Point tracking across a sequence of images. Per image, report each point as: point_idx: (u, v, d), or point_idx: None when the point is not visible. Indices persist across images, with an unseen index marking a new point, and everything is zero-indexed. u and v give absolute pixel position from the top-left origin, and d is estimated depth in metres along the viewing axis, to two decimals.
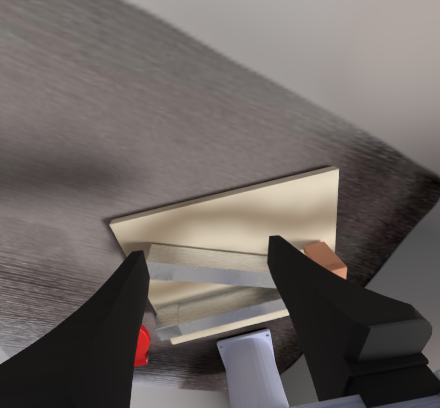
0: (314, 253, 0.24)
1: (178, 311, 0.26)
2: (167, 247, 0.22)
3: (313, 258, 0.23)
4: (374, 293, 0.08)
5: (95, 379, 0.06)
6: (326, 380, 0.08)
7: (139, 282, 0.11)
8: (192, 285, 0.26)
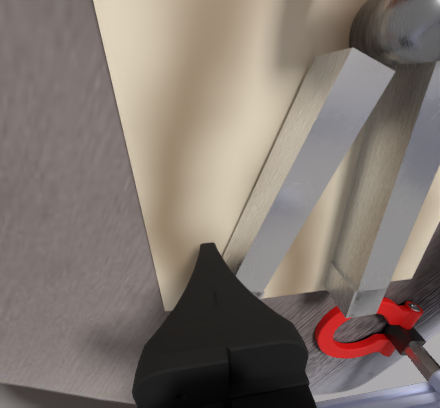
0: None
1: (341, 272, 0.15)
2: None
3: None
4: (266, 308, 0.07)
5: None
6: None
7: None
8: (305, 238, 0.15)
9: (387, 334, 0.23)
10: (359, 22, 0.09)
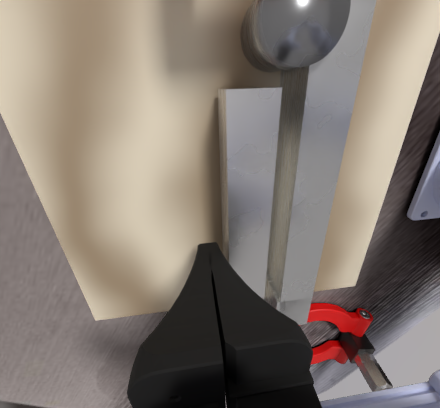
0: None
1: (271, 281, 0.15)
2: None
3: None
4: (270, 308, 0.07)
5: None
6: (227, 398, 0.08)
7: None
8: None
9: (340, 341, 0.22)
10: (243, 24, 0.09)
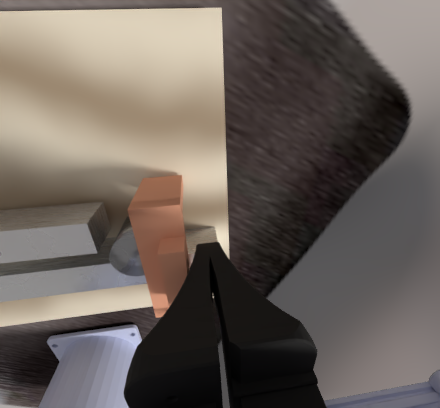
0: (148, 186, 0.13)
1: None
2: None
3: (138, 191, 0.12)
4: (274, 307, 0.07)
5: None
6: (230, 397, 0.08)
7: (210, 273, 0.11)
8: None
9: None
10: None
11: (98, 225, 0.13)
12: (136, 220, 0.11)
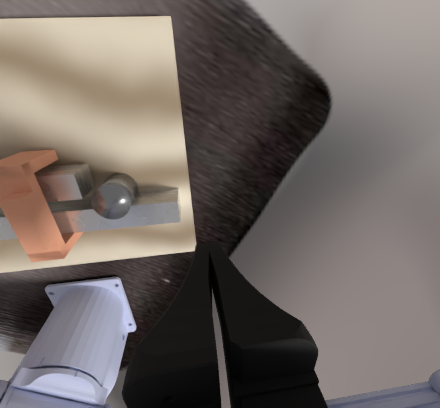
0: (17, 155, 0.16)
1: None
2: None
3: (4, 158, 0.16)
4: (275, 307, 0.07)
5: None
6: (231, 397, 0.08)
7: None
8: None
9: None
10: (119, 175, 0.19)
11: (83, 179, 0.18)
12: None
